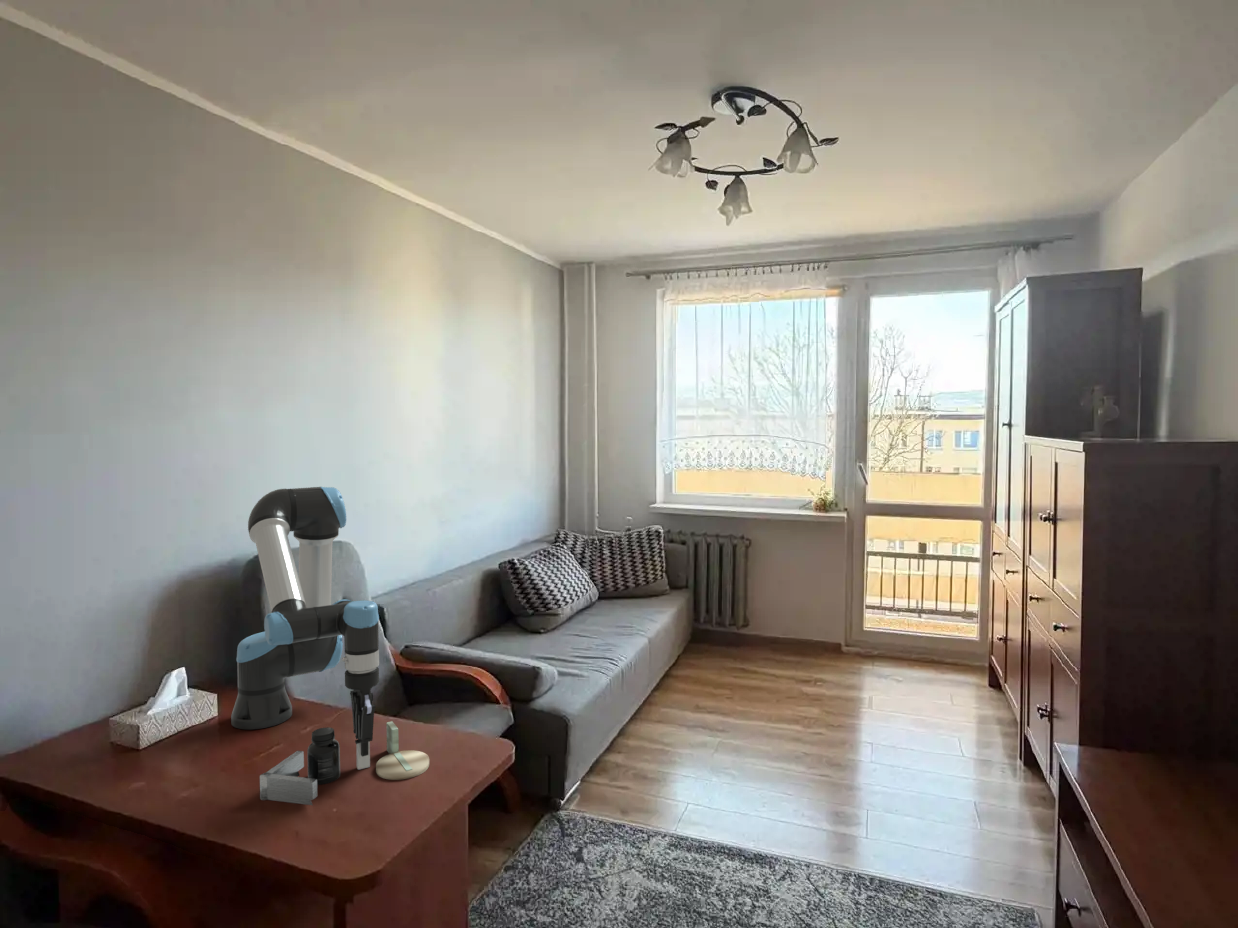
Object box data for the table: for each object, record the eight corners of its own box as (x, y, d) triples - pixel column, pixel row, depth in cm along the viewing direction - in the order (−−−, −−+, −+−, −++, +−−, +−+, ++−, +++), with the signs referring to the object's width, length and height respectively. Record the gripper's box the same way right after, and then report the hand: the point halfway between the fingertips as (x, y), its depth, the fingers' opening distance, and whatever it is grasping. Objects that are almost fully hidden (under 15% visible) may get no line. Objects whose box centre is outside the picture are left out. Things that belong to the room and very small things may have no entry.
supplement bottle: (345, 776, 168) (345, 725, 167) (331, 790, 161) (330, 738, 160) (317, 774, 168) (316, 724, 168) (301, 789, 162) (300, 737, 161)
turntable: (364, 755, 175) (364, 727, 175) (413, 743, 182) (413, 716, 181) (384, 784, 161) (383, 754, 161) (436, 770, 168) (436, 741, 167)
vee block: (254, 781, 165) (254, 760, 165) (303, 769, 170) (302, 749, 170) (266, 817, 150) (265, 794, 149) (318, 803, 155) (318, 781, 155)
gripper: (338, 663, 171) (340, 760, 173) (352, 679, 161) (353, 782, 162) (370, 657, 175) (372, 752, 177) (386, 673, 165) (387, 773, 166)
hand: (363, 766), depth 169 cm, fingers closed
